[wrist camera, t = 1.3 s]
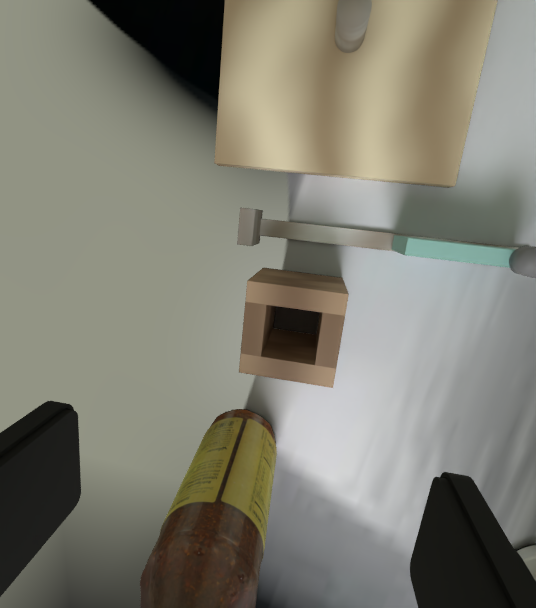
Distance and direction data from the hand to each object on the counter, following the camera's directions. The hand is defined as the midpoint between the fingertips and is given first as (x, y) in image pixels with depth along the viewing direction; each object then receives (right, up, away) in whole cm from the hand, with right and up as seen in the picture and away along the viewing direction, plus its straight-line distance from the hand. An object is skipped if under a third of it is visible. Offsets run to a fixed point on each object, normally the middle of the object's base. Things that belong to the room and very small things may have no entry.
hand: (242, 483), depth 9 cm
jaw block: (+3, +4, +18) cm, 19 cm away
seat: (+9, +18, +14) cm, 24 cm away
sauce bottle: (-1, -7, +22) cm, 23 cm away
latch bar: (+13, +8, +15) cm, 22 cm away
